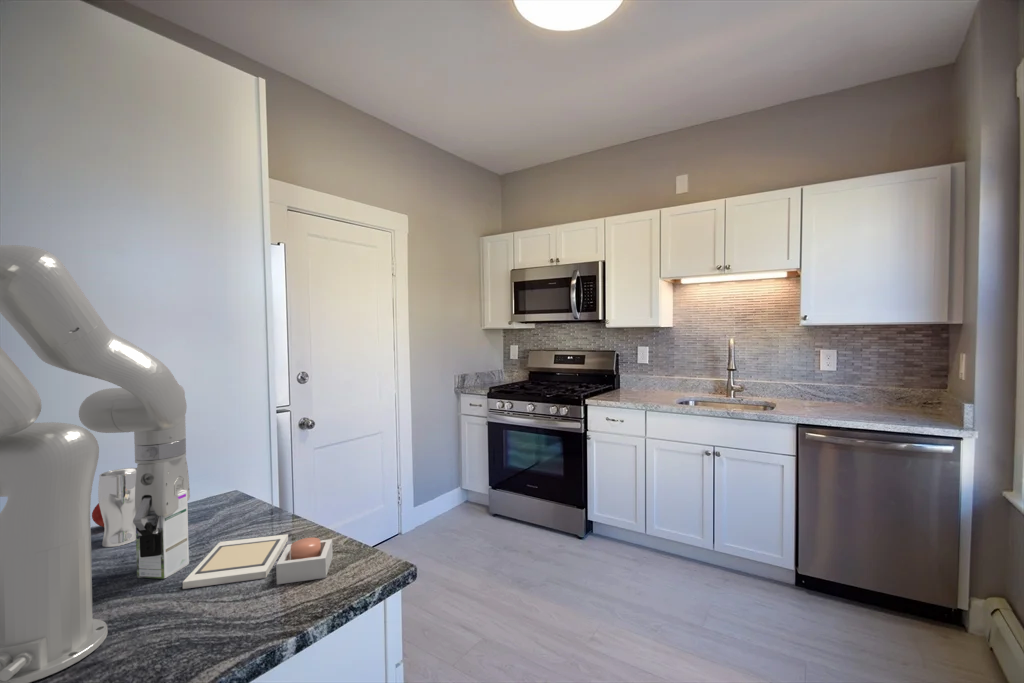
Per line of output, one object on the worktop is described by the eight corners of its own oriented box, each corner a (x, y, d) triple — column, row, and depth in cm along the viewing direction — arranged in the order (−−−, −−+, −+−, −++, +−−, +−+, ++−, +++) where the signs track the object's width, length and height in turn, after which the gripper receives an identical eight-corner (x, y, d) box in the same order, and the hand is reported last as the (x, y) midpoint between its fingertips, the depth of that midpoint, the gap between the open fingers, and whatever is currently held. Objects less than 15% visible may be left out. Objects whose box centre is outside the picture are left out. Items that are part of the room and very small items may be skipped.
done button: (318, 560, 81) (317, 547, 81) (287, 564, 79) (287, 551, 79) (322, 548, 85) (322, 536, 85) (294, 552, 84) (294, 539, 84)
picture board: (266, 577, 80) (265, 570, 80) (182, 588, 77) (182, 581, 77) (288, 539, 95) (288, 533, 95) (219, 547, 92) (219, 541, 92)
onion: (85, 532, 102) (85, 497, 102) (114, 522, 107) (114, 489, 107) (103, 534, 100) (102, 499, 100) (131, 524, 106) (131, 490, 106)
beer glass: (137, 531, 102) (136, 465, 102) (145, 539, 97) (144, 470, 97) (96, 542, 96) (95, 473, 96) (102, 551, 92) (101, 478, 92)
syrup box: (190, 564, 86) (189, 488, 86) (163, 580, 80) (162, 499, 80) (163, 563, 86) (162, 488, 86) (134, 579, 80) (133, 498, 80)
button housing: (325, 577, 79) (325, 558, 79) (276, 584, 78) (276, 564, 78) (332, 556, 87) (332, 539, 87) (288, 562, 85) (287, 544, 85)
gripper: (159, 461, 75) (161, 565, 75) (204, 439, 92) (205, 525, 92) (107, 464, 74) (109, 572, 74) (162, 442, 91) (164, 529, 91)
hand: (163, 545), depth 83 cm, fingers closed on syrup box, 7 cm apart
